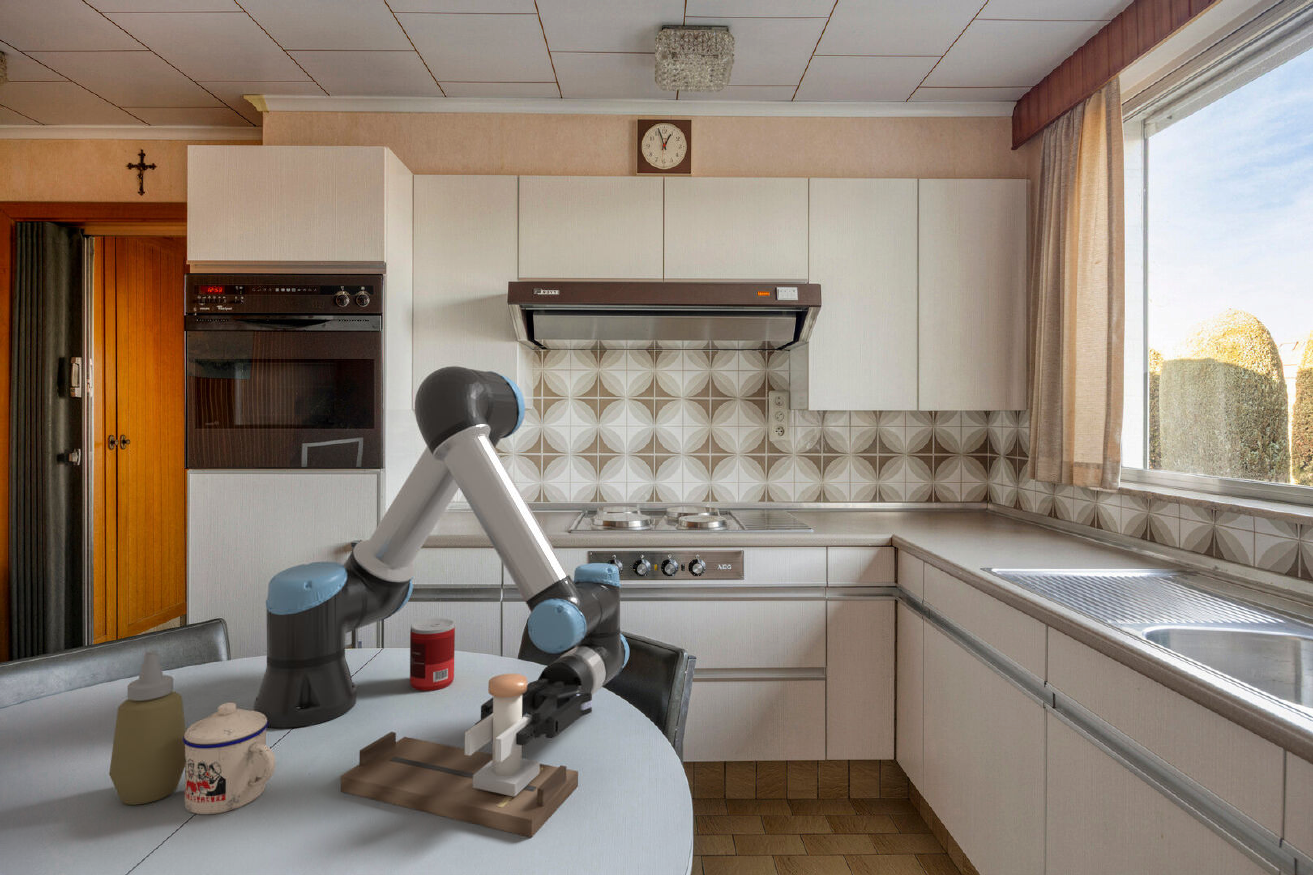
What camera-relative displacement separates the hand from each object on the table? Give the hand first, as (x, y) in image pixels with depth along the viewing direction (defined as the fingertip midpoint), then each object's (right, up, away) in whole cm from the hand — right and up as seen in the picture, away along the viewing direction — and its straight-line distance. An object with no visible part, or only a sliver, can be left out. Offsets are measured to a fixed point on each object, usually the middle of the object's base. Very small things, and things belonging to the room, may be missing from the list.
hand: (483, 746), depth 80 cm
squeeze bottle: (-44, -9, +5) cm, 45 cm away
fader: (+2, -7, +5) cm, 9 cm away
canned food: (-21, -9, +44) cm, 49 cm away
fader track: (-5, -9, +7) cm, 13 cm away
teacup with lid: (-32, -9, +4) cm, 34 cm away
